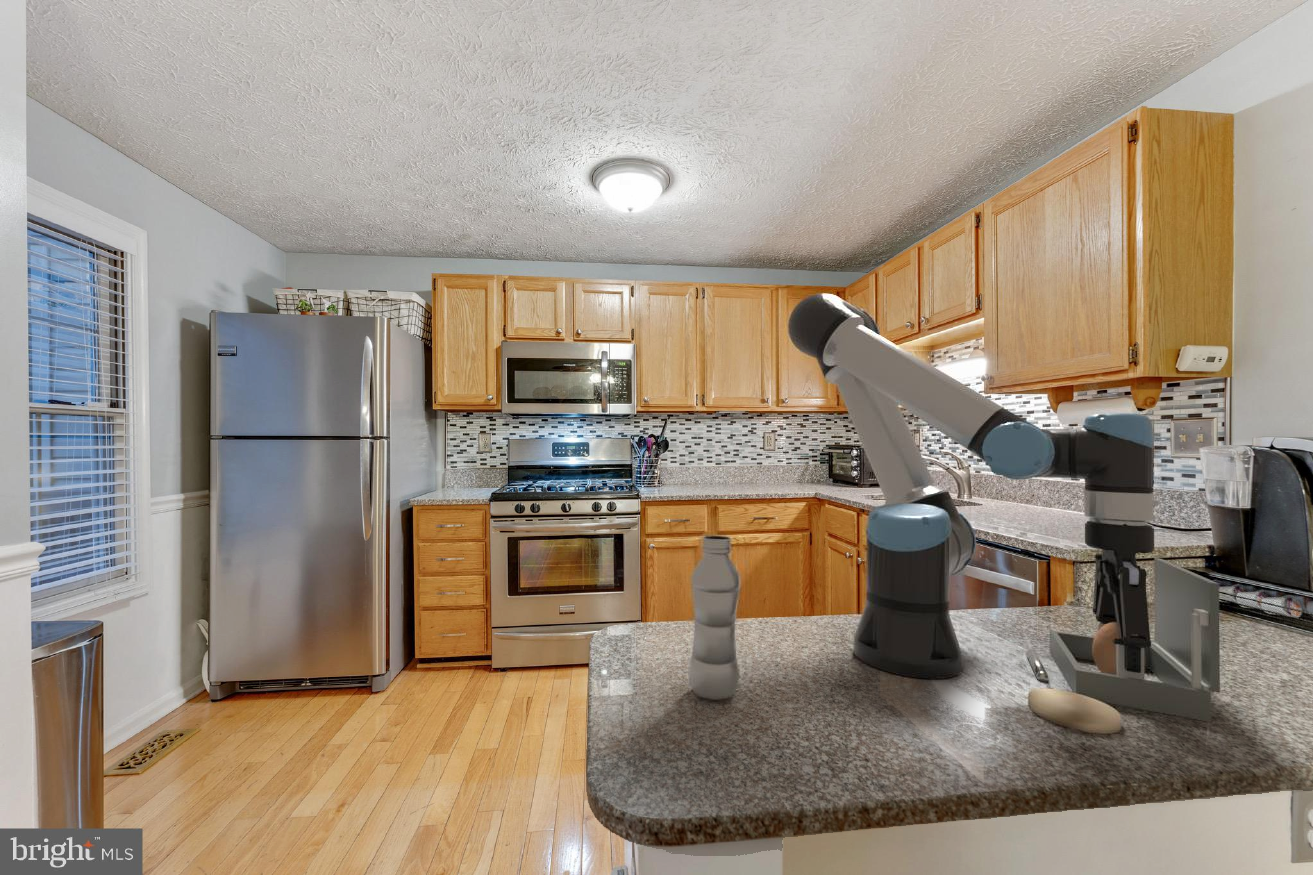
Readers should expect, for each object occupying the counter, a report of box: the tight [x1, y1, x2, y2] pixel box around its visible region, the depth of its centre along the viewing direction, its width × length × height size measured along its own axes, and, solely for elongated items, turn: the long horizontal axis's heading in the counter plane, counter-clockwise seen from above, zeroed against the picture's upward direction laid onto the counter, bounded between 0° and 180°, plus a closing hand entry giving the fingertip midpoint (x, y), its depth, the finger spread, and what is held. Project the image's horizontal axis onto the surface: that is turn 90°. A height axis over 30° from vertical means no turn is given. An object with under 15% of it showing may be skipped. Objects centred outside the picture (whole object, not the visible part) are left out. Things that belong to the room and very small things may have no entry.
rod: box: [1025, 649, 1049, 682], centre depth 80 cm, size 1×11×1 cm, turn 152°
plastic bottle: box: [688, 535, 741, 701], centre depth 69 cm, size 6×7×20 cm
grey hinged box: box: [1049, 557, 1221, 723], centre depth 76 cm, size 14×19×17 cm
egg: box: [1092, 622, 1146, 675], centre depth 76 cm, size 6×6×8 cm
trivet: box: [1027, 688, 1122, 735], centre depth 65 cm, size 9×9×1 cm
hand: (1119, 680), depth 76 cm, fingers open, 9 cm apart
